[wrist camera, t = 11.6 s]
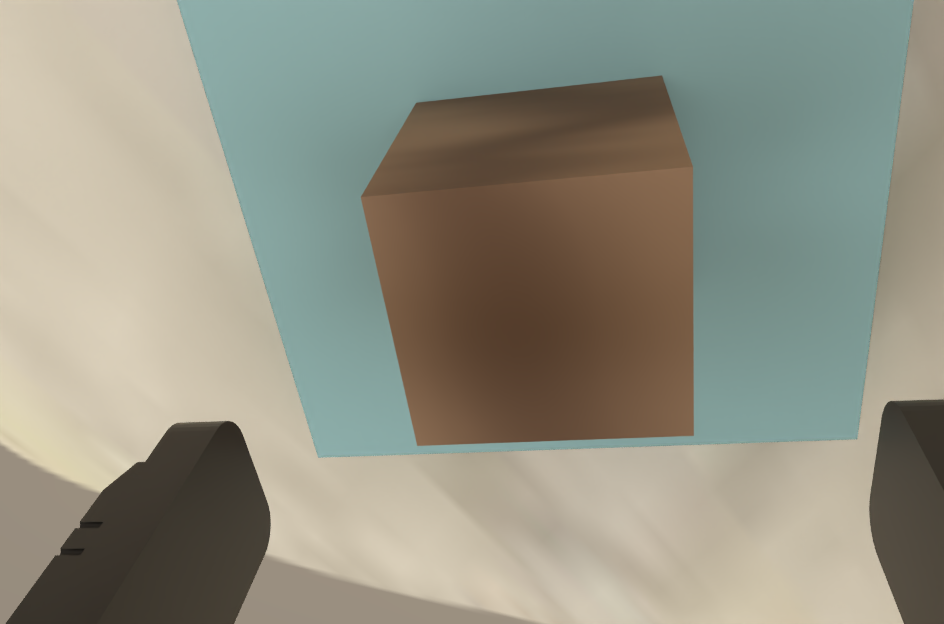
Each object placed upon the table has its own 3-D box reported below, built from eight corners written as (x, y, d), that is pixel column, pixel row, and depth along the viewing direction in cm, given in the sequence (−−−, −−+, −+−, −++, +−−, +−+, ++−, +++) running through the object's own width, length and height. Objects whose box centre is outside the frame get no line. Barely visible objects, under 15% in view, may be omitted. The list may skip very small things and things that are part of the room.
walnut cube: (662, 75, 16) (693, 166, 12) (667, 294, 18) (693, 436, 14) (416, 102, 17) (360, 197, 12) (453, 308, 19) (417, 446, 15)
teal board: (911, -235, 14) (944, -241, 13) (840, 402, 21) (857, 439, 20) (177, -113, 16) (143, -108, 15) (332, 423, 23) (318, 457, 22)
